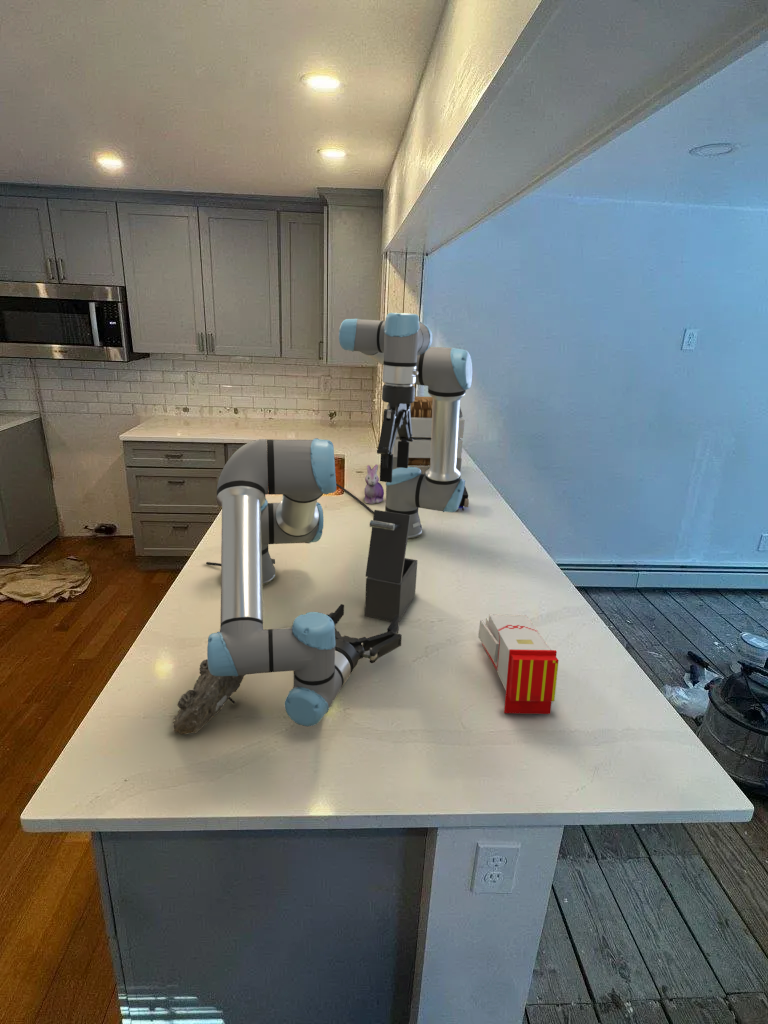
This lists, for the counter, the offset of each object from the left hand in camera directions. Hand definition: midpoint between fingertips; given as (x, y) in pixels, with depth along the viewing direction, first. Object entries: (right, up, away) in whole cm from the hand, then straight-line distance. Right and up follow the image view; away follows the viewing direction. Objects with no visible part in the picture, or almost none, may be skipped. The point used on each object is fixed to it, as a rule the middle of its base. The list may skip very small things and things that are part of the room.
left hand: (369, 614), depth 133 cm
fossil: (-30, -13, -21) cm, 39 cm away
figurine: (-1, +29, +99) cm, 103 cm away
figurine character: (+34, +26, +97) cm, 106 cm away
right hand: (+6, +33, +3) cm, 34 cm away
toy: (+31, -12, -8) cm, 34 cm away
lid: (+5, +16, +8) cm, 18 cm away
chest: (+5, -1, +18) cm, 19 cm away
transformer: (+21, +43, +142) cm, 150 cm away
